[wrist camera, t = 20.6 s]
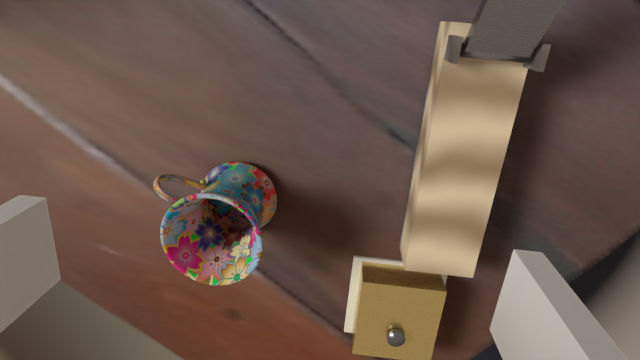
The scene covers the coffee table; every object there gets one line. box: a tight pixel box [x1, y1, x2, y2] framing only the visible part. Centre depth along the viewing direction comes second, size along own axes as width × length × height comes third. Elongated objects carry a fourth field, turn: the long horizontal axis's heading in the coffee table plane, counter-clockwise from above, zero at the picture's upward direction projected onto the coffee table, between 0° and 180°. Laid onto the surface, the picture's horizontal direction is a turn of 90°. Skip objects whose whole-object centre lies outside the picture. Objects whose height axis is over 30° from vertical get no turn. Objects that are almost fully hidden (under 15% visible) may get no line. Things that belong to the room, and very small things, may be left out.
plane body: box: [399, 21, 551, 278], centre depth 39 cm, size 24×7×8 cm, turn 175°
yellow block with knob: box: [352, 262, 447, 360], centre depth 47 cm, size 10×9×5 cm
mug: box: [153, 162, 277, 285], centre depth 41 cm, size 12×9×11 cm
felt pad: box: [344, 255, 448, 333], centre depth 50 cm, size 11×11×1 cm
